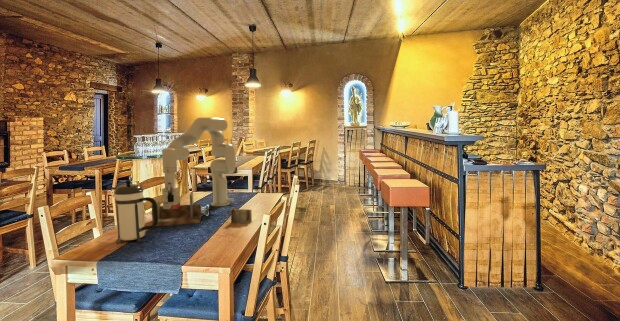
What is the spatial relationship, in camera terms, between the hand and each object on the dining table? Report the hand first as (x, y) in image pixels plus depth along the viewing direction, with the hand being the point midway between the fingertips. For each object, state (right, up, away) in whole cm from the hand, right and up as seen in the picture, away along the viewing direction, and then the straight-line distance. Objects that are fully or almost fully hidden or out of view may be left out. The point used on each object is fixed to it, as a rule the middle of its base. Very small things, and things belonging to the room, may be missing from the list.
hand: (171, 200), depth 206 cm
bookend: (+13, -10, +4) cm, 17 cm away
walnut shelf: (+3, -12, +2) cm, 13 cm away
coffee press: (-6, -16, -30) cm, 35 cm away
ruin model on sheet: (+41, -13, -2) cm, 43 cm away
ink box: (0, -5, +1) cm, 5 cm away
